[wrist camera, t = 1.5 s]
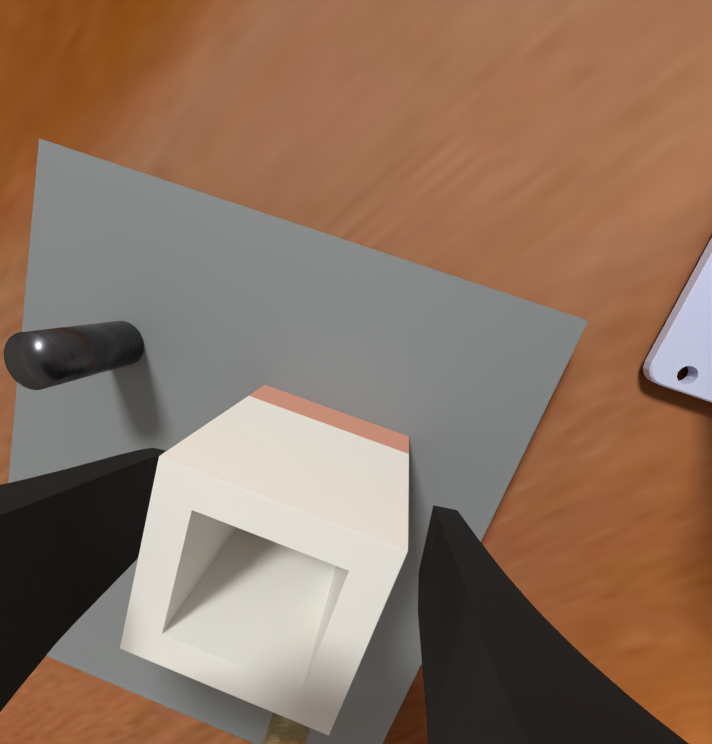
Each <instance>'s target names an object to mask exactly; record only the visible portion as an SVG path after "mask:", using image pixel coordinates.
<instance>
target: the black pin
mask: <svg viewBox="0 0 712 744" xmlns="http://www.w3.org/2000/svg"><path fill="white" fill-rule="evenodd" d="M143 352H144V341H143V338H142V336H141V334H140V332H139V331H138V329H137V328H136V327H135V326H133V325H132V324H130V323H128V322H126V321H112V322H103V323H95V324H86V325H78V326H69V327H60V328H52V329H43V330H35V331H26V332H19V333H16V334H14V335H12V336H11V337H10V338H9V339H8V341H7V343H6V345H5V348H4V360H5V364H6V367H7V369H8V371H9V373H10V374H11V376H12V377H13V378H14V379H15V380H16V381H17V382H18V383H19V384H20V385H22V386H24V387H26V388H28V389H31V390H42V389H45V388H49V387H52V386H56V385H60V384H63V383H67V382H70V381H74V380H78V379H81V378H85V377H88V376H92V375H95V374H99V373H103V372H106V371H110V370H113V369H117V368H121V367H124V366H128V365H131V364H134V363H136V362H137V361H139V360H140V358H141V357H142V355H143Z"/></svg>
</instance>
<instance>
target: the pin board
mask: <svg viewBox="0 0 712 744" xmlns="http://www.w3.org/2000/svg"><path fill="white" fill-rule="evenodd" d="M112 321H126V322H128V323H130V324H132V325H133V326H135V327H136V328H137V329H138V331H139V332H140V334H141V336H142V338H143V341H144V352H143V355H142V357H141V358H140V360H139V361H137V362H136V363H134V364H131V365H128V366H124V367H121V368H117V369H113V370H110V371H106V372H103V373H99V374H95V375H92V376H88V377H85V378H81V379H78V380H74V381H70V382H67V383H63V384H60V385H56V386H52V387H49V388H45V389H42V390H31V389H28V388H26V387H24V386H22V385H20V384H19V383H18V382H17V391H16V402H15V413H14V424H13V435H12V447H11V458H10V469H9V480H8V483H11V482H16V481H20V480H24V479H28V478H32V477H36V476H40V475H44V474H48V473H52V472H56V471H60V470H64V469H68V468H72V467H75V466H79V465H83V464H86V463H90V462H94V461H98V460H101V459H105V458H109V457H112V456H116V455H120V454H124V453H128V452H132V451H137V450H141V449H147V448H157V449H162V450H166V451H167V450H169V449H170V448H172V447H173V446H175V445H176V444H178V443H179V442H181V441H182V440H184V439H185V438H187V437H188V436H190V435H191V434H193V433H194V432H196V431H197V430H199V429H200V428H202V427H203V426H205V425H206V424H207V423H209V422H210V421H212V420H213V419H215V418H216V417H218V416H219V415H221V414H222V413H224V412H225V411H227V410H228V409H230V408H231V407H233V406H234V405H236V404H237V403H239V402H240V401H242V400H243V399H245V398H246V397H248V396H249V395H250V394H252V393H253V392H255V391H256V390H258V389H259V388H261V387H262V386H264V385H267V386H270V387H273V388H276V389H278V390H281V391H284V392H287V393H290V394H292V395H295V396H298V397H301V398H303V399H306V400H309V401H312V402H314V403H317V404H320V405H323V406H326V407H328V408H331V409H334V410H337V411H339V412H342V413H345V414H348V415H350V416H353V417H356V418H359V419H362V420H364V421H367V422H370V423H373V424H375V425H378V426H381V427H384V428H387V429H389V430H392V431H395V432H398V433H400V434H403V435H406V436H409V504H408V552H407V555H406V557H405V559H404V562H403V564H402V566H401V569H400V571H399V573H398V575H397V578H396V580H395V582H394V585H393V587H392V589H391V592H390V594H389V596H388V599H387V601H386V603H385V606H384V608H383V610H382V613H381V615H380V617H379V620H378V622H377V624H376V627H375V629H374V631H373V634H372V636H371V638H370V641H369V643H368V645H367V648H366V650H365V652H364V655H363V657H362V659H361V662H360V664H359V666H358V669H357V671H356V673H355V676H354V678H353V680H352V683H351V685H350V687H349V690H348V692H347V694H346V697H345V699H344V701H343V704H342V706H341V708H340V711H339V713H338V715H337V718H336V720H335V722H334V725H333V727H332V729H331V732H330V734H329V735H326V734H324V733H321V732H319V731H317V730H314V729H312V728H310V730H309V735H308V739H307V743H306V744H383V742H384V740H385V738H386V736H387V734H388V732H389V729H390V727H391V725H392V723H393V721H394V719H395V717H396V715H397V713H398V711H399V709H400V707H401V705H402V703H403V701H404V699H405V697H406V695H407V692H408V690H409V688H410V686H411V684H412V682H413V680H414V678H415V676H416V674H417V672H418V670H419V668H420V666H421V664H422V657H421V645H420V633H419V621H418V580H419V569H420V564H421V559H422V555H423V550H424V546H425V541H426V536H427V532H428V527H429V523H430V518H431V514H432V509H433V505H435V506H440V507H445V508H449V509H454V510H458V512H459V513H460V514H461V516H462V517H463V518H464V520H465V521H466V523H467V524H468V525H469V527H470V528H471V530H472V531H473V532H474V534H475V535H476V536H477V538H478V539H479V541H480V542H481V540H482V538H483V536H484V534H485V532H486V530H487V528H488V526H489V524H490V522H491V520H492V518H493V516H494V514H495V511H496V509H497V507H498V505H499V503H500V501H501V499H502V497H503V495H504V493H505V491H506V489H507V487H508V485H509V483H510V481H511V479H512V477H513V474H514V472H515V470H516V468H517V466H518V464H519V462H520V460H521V458H522V456H523V454H524V452H525V450H526V448H527V446H528V444H529V442H530V439H531V437H532V435H533V433H534V431H535V429H536V427H537V425H538V423H539V421H540V419H541V417H542V415H543V413H544V411H545V409H546V407H547V405H548V402H549V400H550V398H551V396H552V394H553V392H554V390H555V388H556V386H557V384H558V382H559V380H560V378H561V376H562V374H563V372H564V370H565V368H566V365H567V363H568V361H569V359H570V357H571V355H572V353H573V351H574V349H575V347H576V345H577V343H578V341H579V339H580V337H581V335H582V333H583V330H584V328H585V326H586V324H587V322H588V320H585V319H582V318H579V317H576V316H573V315H570V314H567V313H564V312H561V311H558V310H555V309H552V308H549V307H546V306H543V305H540V304H537V303H534V302H531V301H528V300H525V299H522V298H519V297H516V296H513V295H510V294H507V293H504V292H501V291H498V290H495V289H492V288H489V287H486V286H483V285H480V284H477V283H474V282H470V281H467V280H464V279H461V278H458V277H455V276H452V275H449V274H446V273H443V272H440V271H437V270H434V269H431V268H428V267H425V266H422V265H419V264H416V263H413V262H410V261H407V260H404V259H401V258H398V257H395V256H392V255H389V254H386V253H383V252H380V251H377V250H374V249H371V248H368V247H365V246H362V245H359V244H356V243H353V242H350V241H347V240H344V239H341V238H338V237H335V236H332V235H329V234H326V233H323V232H320V231H317V230H314V229H311V228H308V227H305V226H302V225H298V224H295V223H292V222H289V221H286V220H283V219H280V218H277V217H274V216H271V215H268V214H265V213H262V212H259V211H256V210H253V209H250V208H247V207H244V206H241V205H238V204H235V203H232V202H229V201H226V200H223V199H220V198H217V197H214V196H211V195H208V194H205V193H202V192H199V191H196V190H193V189H190V188H187V187H184V186H181V185H178V184H175V183H172V182H169V181H166V180H163V179H160V178H157V177H154V176H151V175H148V174H145V173H142V172H139V171H136V170H133V169H130V168H126V167H123V166H120V165H117V164H114V163H111V162H108V161H105V160H102V159H99V158H96V157H93V156H90V155H87V154H84V153H81V152H78V151H75V150H72V149H69V148H66V147H63V146H60V145H57V144H54V143H51V142H48V141H45V140H42V139H39V147H38V158H37V169H36V180H35V192H34V203H33V214H32V225H31V236H30V247H29V258H28V269H27V280H26V291H25V302H24V313H23V325H22V332H26V331H35V330H43V329H52V328H60V327H69V326H78V325H86V324H95V323H103V322H112ZM137 561H138V559H137V560H136V561H135V562H134V563H133V564H132V565H131V566H130V567H129V568H128V569H127V570H126V571H125V572H124V573H123V574H122V575H121V576H120V577H119V578H118V579H117V580H116V581H115V582H114V583H113V584H112V585H111V587H110V588H109V589H108V590H107V591H106V592H105V593H104V594H103V595H102V596H101V597H100V598H99V599H98V600H97V601H96V602H95V603H94V604H93V605H92V606H91V607H90V608H89V609H88V610H87V611H86V612H85V613H84V614H83V615H82V616H81V617H80V618H79V619H78V620H77V621H76V622H75V623H74V624H73V625H72V627H71V628H70V629H69V630H68V631H67V632H66V633H65V634H64V635H63V636H62V638H61V639H60V640H59V641H58V642H57V643H56V644H55V645H54V646H53V648H52V649H51V650H50V651H49V652H48V654H47V655H46V656H48V657H51V658H53V659H55V660H58V661H60V662H62V663H65V664H67V665H70V666H72V667H74V668H77V669H79V670H81V671H84V672H86V673H88V674H91V675H93V676H95V677H98V678H100V679H103V680H105V681H107V682H110V683H112V684H114V685H117V686H119V687H121V688H124V689H126V690H129V691H131V692H133V693H136V694H138V695H140V696H143V697H145V698H147V699H150V700H152V701H155V702H157V703H159V704H162V705H164V706H166V707H169V708H171V709H173V710H176V711H178V712H180V713H183V714H185V715H188V716H190V717H192V718H195V719H197V720H199V721H202V722H204V723H206V724H209V725H211V726H214V727H216V728H218V729H221V730H223V731H225V732H228V733H230V734H232V735H235V736H237V737H239V738H242V739H244V740H247V741H249V742H251V743H254V744H263V742H264V739H265V736H266V733H267V730H268V727H269V724H270V721H271V717H272V714H273V712H271V711H269V710H266V709H264V708H261V707H259V706H257V705H254V704H252V703H249V702H247V701H245V700H242V699H240V698H237V697H235V696H233V695H230V694H228V693H225V692H223V691H221V690H218V689H216V688H213V687H211V686H209V685H206V684H204V683H201V682H199V681H197V680H194V679H192V678H189V677H187V676H185V675H182V674H180V673H177V672H175V671H173V670H170V669H168V668H165V667H163V666H161V665H158V664H156V663H153V662H151V661H149V660H146V659H144V658H141V657H139V656H137V655H134V654H132V653H129V652H127V651H125V650H122V649H120V644H121V639H122V635H123V630H124V625H125V620H126V615H127V610H128V605H129V600H130V596H131V591H132V586H133V581H134V576H135V571H136V566H137Z"/></svg>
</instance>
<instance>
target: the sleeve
mask: <svg viewBox="0 0 712 744" xmlns="http://www.w3.org/2000/svg"><path fill="white" fill-rule="evenodd" d="M408 504H409V436H406V435H403V434H400V433H398V432H395V431H392V430H389V429H387V428H384V427H381V426H378V425H375V424H373V423H370V422H367V421H364V420H362V419H359V418H356V417H353V416H350V415H348V414H345V413H342V412H339V411H337V410H334V409H331V408H328V407H326V406H323V405H320V404H317V403H314V402H312V401H309V400H306V399H303V398H301V397H298V396H295V395H292V394H290V393H287V392H284V391H281V390H278V389H276V388H273V387H270V386H267V385H264V386H262V387H261V388H259V389H258V390H256V391H255V392H253V393H252V394H250V395H249V396H248V397H246V398H245V399H243V400H242V401H240V402H239V403H237V404H236V405H234V406H233V407H231V408H230V409H228V410H227V411H225V412H224V413H222V414H221V415H219V416H218V417H216V418H215V419H213V420H212V421H210V422H209V423H207V424H206V425H205V426H203V427H202V428H200V429H199V430H197V431H196V432H194V433H193V434H191V435H190V436H188V437H187V438H185V439H184V440H182V441H181V442H179V443H178V444H176V445H175V446H173V447H172V448H170V449H169V450H167V451H166V452H164V453H163V454H162V455H160V456H159V459H158V464H157V469H156V474H155V479H154V483H153V488H152V493H151V498H150V503H149V508H148V513H147V518H146V522H145V527H144V532H143V537H142V542H141V547H140V552H139V557H138V561H137V566H136V571H135V576H134V581H133V586H132V591H131V596H130V600H129V605H128V610H127V615H126V620H125V625H124V630H123V635H122V639H121V644H120V649H122V650H125V651H127V652H129V653H132V654H134V655H137V656H139V657H141V658H144V659H146V660H149V661H151V662H153V663H156V664H158V665H161V666H163V667H165V668H168V669H170V670H173V671H175V672H177V673H180V674H182V675H185V676H187V677H189V678H192V679H194V680H197V681H199V682H201V683H204V684H206V685H209V686H211V687H213V688H216V689H218V690H221V691H223V692H225V693H228V694H230V695H233V696H235V697H237V698H240V699H242V700H245V701H247V702H249V703H252V704H254V705H257V706H259V707H261V708H264V709H266V710H269V711H271V712H273V713H276V714H278V715H281V716H283V717H285V718H288V719H290V720H293V721H295V722H297V723H300V724H302V725H305V726H307V727H309V728H312V729H314V730H317V731H319V732H321V733H324V734H326V735H329V734H330V732H331V729H332V727H333V725H334V722H335V720H336V718H337V715H338V713H339V711H340V708H341V706H342V704H343V701H344V699H345V697H346V694H347V692H348V690H349V687H350V685H351V683H352V680H353V678H354V676H355V673H356V671H357V669H358V666H359V664H360V662H361V659H362V657H363V655H364V652H365V650H366V648H367V645H368V643H369V641H370V638H371V636H372V634H373V631H374V629H375V627H376V624H377V622H378V620H379V617H380V615H381V613H382V610H383V608H384V606H385V603H386V601H387V599H388V596H389V594H390V592H391V589H392V587H393V585H394V582H395V580H396V578H397V575H398V573H399V571H400V569H401V566H402V564H403V562H404V559H405V557H406V555H407V552H408Z"/></svg>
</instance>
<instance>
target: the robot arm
mask: <svg viewBox="0 0 712 744" xmlns="http://www.w3.org/2000/svg"><path fill="white" fill-rule="evenodd" d="M686 366H687V368H688V374H687V376H686V377H685V378H684V379H682V380H680V381H678V379H677V374H678V372H679V370H680V369H681V368H683V367H686ZM643 372H644V375H645V376H646V378H647V379H648V380H650V381H652V382H653V383H656V384H658V385H661V386H664V387H667V388H670V389H673V390H676V391H679V392H682V393H685V394H688V395H691V396H694V397H697V398H700V399H703V400H706V401H708V402H711V403H712V238H711V240H710V242H709V244H708V245H707V247H706V249H705V251H704V253H703V255H702V256H701V258H700V260H699V262H698V264H697V266H696V268H695V269H694V271H693V273H692V275H691V277H690V279H689V280H688V282H687V284H686V286H685V288H684V290H683V292H682V293H681V295H680V297H679V299H678V301H677V303H676V304H675V306H674V308H673V310H672V312H671V314H670V316H669V317H668V319H667V321H666V323H665V325H664V327H663V329H662V330H661V332H660V334H659V336H658V338H657V340H656V341H655V343H654V345H653V347H652V349H651V351H650V353H649V354H648V356H647V358H646V360H645V362H644V366H643ZM164 452H166V450H162V449H157V448H147V449H141V450H137V451H132V452H128V453H124V454H120V455H116V456H112V457H109V458H105V459H101V460H98V461H94V462H90V463H86V464H83V465H79V466H75V467H72V468H68V469H64V470H60V471H56V472H52V473H48V474H44V475H40V476H36V477H32V478H28V479H24V480H20V481H16V482H11V483H7V484H2V485H0V711H1V710H2V709H3V708H4V706H5V705H6V704H7V703H8V701H9V700H10V699H11V697H12V696H13V695H14V694H15V692H16V691H17V690H18V689H19V688H20V686H21V685H22V684H23V683H24V681H25V680H26V679H27V678H28V677H29V675H30V674H31V673H32V672H33V671H34V669H35V668H36V667H37V666H38V665H39V663H40V662H41V661H42V660H43V659H44V657H45V656H46V655H47V654H48V652H49V651H50V650H51V649H52V648H53V646H54V645H55V644H56V643H57V642H58V641H59V640H60V639H61V638H62V636H63V635H64V634H65V633H66V632H67V631H68V630H69V629H70V628H71V627H72V625H73V624H74V623H75V622H76V621H77V620H78V619H79V618H80V617H81V616H82V615H83V614H84V613H85V612H86V611H87V610H88V609H89V608H90V607H91V606H92V605H93V604H94V603H95V602H96V601H97V600H98V599H99V598H100V597H101V596H102V595H103V594H104V593H105V592H106V591H107V590H108V589H109V588H110V587H111V585H112V584H113V583H114V582H115V581H116V580H117V579H118V578H119V577H120V576H121V575H122V574H123V573H124V572H125V571H126V570H127V569H128V568H129V567H130V566H131V565H132V564H133V563H134V562H135V561H136V560H137V559H138V557H139V552H140V547H141V542H142V537H143V532H144V527H145V522H146V518H147V513H148V508H149V503H150V498H151V493H152V488H153V483H154V479H155V474H156V469H157V464H158V459H159V456H160V455H162V454H163V453H164ZM418 621H419V633H420V645H421V657H422V668H423V679H424V690H425V702H426V713H427V729H428V744H688V743H687V742H686V741H684V740H683V739H682V738H681V737H679V736H678V735H677V734H675V733H674V732H673V731H672V730H670V729H669V728H668V727H666V726H665V725H664V724H663V723H661V722H660V721H659V720H658V719H656V718H655V717H654V716H653V715H651V714H650V713H649V712H648V711H647V710H645V709H644V708H643V707H642V706H640V705H639V704H638V703H637V702H636V701H634V700H633V699H632V698H631V697H630V696H628V695H627V694H626V693H625V692H624V691H623V690H621V689H620V688H619V687H618V686H617V685H616V684H615V683H613V682H612V681H611V680H610V679H609V678H608V677H607V676H605V675H604V674H603V673H602V672H601V671H600V670H599V669H597V668H596V667H595V666H594V665H593V664H592V663H591V662H590V661H588V660H587V659H586V658H585V657H584V656H583V655H582V654H581V653H580V652H579V651H578V650H577V649H575V648H574V647H573V646H572V645H571V644H570V643H569V642H568V641H567V640H566V639H565V638H564V637H563V636H562V635H561V634H560V633H559V632H558V631H557V630H556V629H555V628H554V627H553V626H552V625H551V624H550V623H549V622H548V621H547V620H546V619H545V618H544V617H543V616H542V615H541V614H540V613H539V611H538V610H537V609H536V608H535V607H534V606H533V605H532V604H531V603H530V602H529V601H528V599H527V598H526V597H525V596H524V595H523V594H522V593H521V591H520V590H519V589H518V588H517V587H516V586H515V585H514V583H513V582H512V581H511V580H510V579H509V578H508V576H507V575H506V574H505V573H504V572H503V570H502V569H501V568H500V567H499V565H498V564H497V563H496V562H495V560H494V559H493V558H492V556H491V555H490V554H489V553H488V551H487V550H486V549H485V547H484V546H483V545H482V543H481V542H480V541H479V539H478V538H477V536H476V535H475V534H474V532H473V531H472V530H471V528H470V527H469V525H468V524H467V523H466V521H465V520H464V518H463V517H462V516H461V514H460V513H459V512H458V510H454V509H449V508H445V507H440V506H435V505H433V509H432V514H431V518H430V523H429V527H428V532H427V536H426V541H425V546H424V550H423V555H422V559H421V564H420V569H419V580H418Z"/></svg>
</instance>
